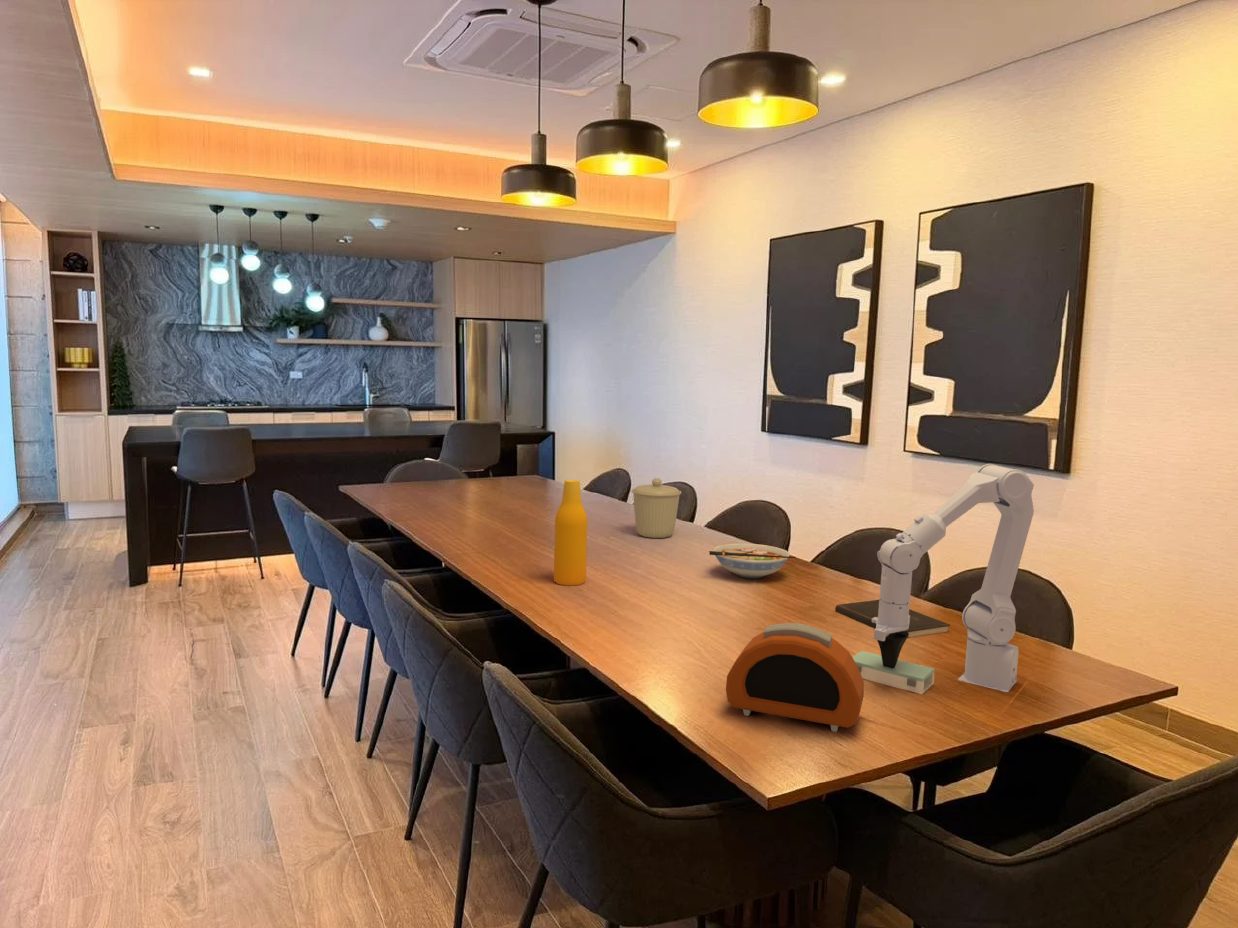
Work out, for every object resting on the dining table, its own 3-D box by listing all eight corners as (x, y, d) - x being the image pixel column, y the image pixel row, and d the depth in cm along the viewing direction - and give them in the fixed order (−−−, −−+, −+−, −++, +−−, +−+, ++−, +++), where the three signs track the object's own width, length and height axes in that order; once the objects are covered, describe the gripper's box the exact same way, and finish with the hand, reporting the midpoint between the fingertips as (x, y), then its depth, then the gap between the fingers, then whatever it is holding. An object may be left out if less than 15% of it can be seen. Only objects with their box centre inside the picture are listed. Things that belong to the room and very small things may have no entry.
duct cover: (934, 671, 164) (934, 668, 164) (922, 681, 159) (923, 678, 159) (861, 653, 174) (861, 650, 174) (848, 662, 168) (848, 659, 168)
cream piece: (933, 686, 165) (934, 671, 164) (920, 697, 159) (921, 682, 158) (860, 667, 174) (861, 653, 174) (846, 677, 168) (847, 663, 168)
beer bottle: (566, 587, 228) (569, 484, 225) (547, 580, 235) (548, 479, 232) (592, 582, 234) (595, 481, 231) (572, 575, 241) (574, 477, 238)
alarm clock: (723, 713, 149) (727, 623, 147) (735, 695, 158) (739, 610, 156) (857, 737, 141) (864, 643, 139) (862, 717, 149) (868, 627, 147)
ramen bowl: (788, 568, 258) (789, 542, 257) (796, 587, 235) (798, 559, 234) (707, 564, 260) (708, 538, 259) (708, 583, 238) (709, 555, 237)
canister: (626, 539, 294) (628, 480, 291) (634, 529, 311) (635, 473, 309) (677, 542, 291) (679, 483, 288) (681, 532, 309) (684, 476, 306)
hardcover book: (882, 607, 221) (883, 598, 220) (949, 633, 200) (950, 624, 200) (834, 613, 214) (835, 604, 214) (899, 641, 193) (899, 631, 193)
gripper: (887, 589, 171) (882, 652, 173) (860, 603, 160) (855, 671, 162) (922, 596, 167) (916, 661, 169) (896, 611, 156) (891, 680, 157)
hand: (889, 666), depth 165 cm, fingers closed, pressing on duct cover
